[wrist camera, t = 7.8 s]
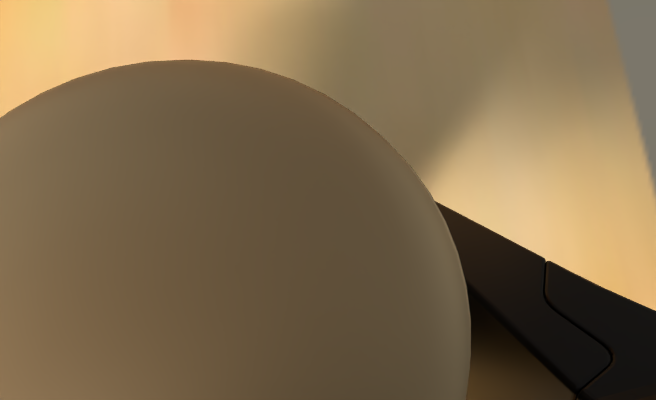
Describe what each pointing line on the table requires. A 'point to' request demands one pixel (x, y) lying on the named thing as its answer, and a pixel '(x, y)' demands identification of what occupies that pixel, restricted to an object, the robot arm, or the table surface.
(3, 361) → the skittle
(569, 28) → the table surface
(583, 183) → the table surface
